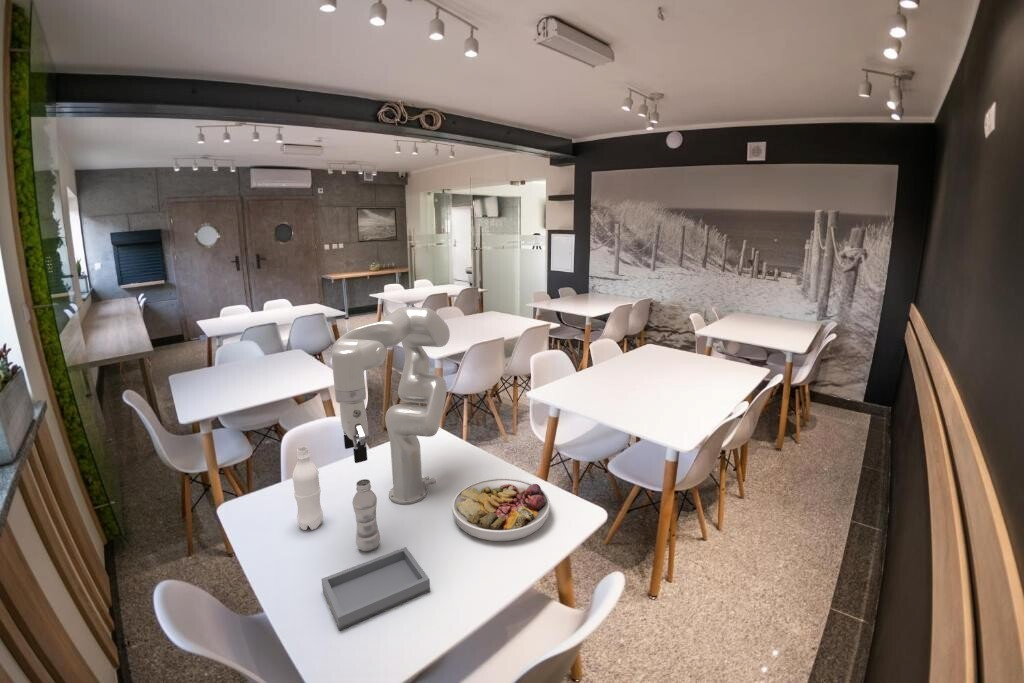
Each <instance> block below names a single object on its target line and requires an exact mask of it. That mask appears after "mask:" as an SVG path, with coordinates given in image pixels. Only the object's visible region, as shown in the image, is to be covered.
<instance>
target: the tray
mask: <svg viewBox="0 0 1024 683" xmlns="http://www.w3.org/2000/svg"><path fill="white" fill-rule="evenodd" d="M321 586H322V587H321V588H322V592H323V596H324V597H325V599H326V602H327V605H328V608H329V609H331V610H330V612H331V613H332V617H333V619H334V621H335V624H336V627H337V628H338V631H339V632H340V631H343V630H345V629H348V628H349V627H351V626H354V625H357V624H358V623H362V622H363V621H366V620H368V619H369V618H372V617H375V616H376V615H380V614H382V613H384V612H386V611H388V610H390V609H393V608H395V607H397V606H400V605H401V604H404V603H407V602H409V601H411V600H413V599H416V598H418V597H421V596H422V595H425V594H427V593H429V592H431V583H430V578H429V576H428V574H426V572H425V570H424V569H423V568H422V566H421V565H420V564H419V562H418V561H417V559H416V558H415V557H414V555H412V553H411V552H410V550H409V549H408V548H407V546H405V547H402V548H399V549H397V550H395V551H394V550H393V551H392V552H389V553H386V554H384V555H381V556H379V557H376V558H373V559H370V560H367V561H365V562H363V563H362V562H361V563H359V564H356V565H355V566H352V567H349V568H346V569H344V570H342V571H339V572H338V571H337V572H335V573H333V574H330V575H328V576H325V577H323V578H321Z"/></svg>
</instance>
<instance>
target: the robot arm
mask: <svg viewBox="0 0 1024 683" xmlns="http://www.w3.org/2000/svg"><path fill="white" fill-rule="evenodd" d="M450 333H451V332H450V329H449V326H448V324H447V323H446V322H445V320H444V319H443V318H442V317H441V316H440V315H439V313H437V312H436V311H434V310H433V309H431V308H429V307H417V306H416V307H415V306H403V307H402V306H401V307H399V308H397V309H394V311H392V312H391V313H390V314H388V315H387V316H386V317H384V318H383V319H382V320H380V321H377V322H373V323H371V324H367V325H364V326H360V327H357V328H353V329H351V330H349V331H347V332H346V333H344V334H343V335H341V336H340V337H339V338H337V339H336V341H335V342H334V343H333V345H332V348H331V365H332V375H333V385H334V395H335V396H334V397H335V402H336V403H337V404H339V412H340V413H339V414H340V424H341V428H342V430H343V442H344V443H343V444H344V449H345V450H348V449H353V458H354V460H353V461H354V463H355V464H359V463H363V462H366V461H368V450H367V441H366V438H368V437H369V435H370V432H369V431H370V430H369V424H368V417H367V410H366V405H365V401H364V400H366V399H367V393H366V380H365V371H368V370H371V369H372V370H373V369H376V368H378V367H379V366H381V365H382V364H383V363H384V362H385V359H386V357H387V349H389V348H393V347H394V348H395V347H396V346H397V345H399V344H400V343H401V345H402V348H403V351H404V357H405V358H404V364H403V367H402V368H403V369H402V373H401V376H400V380H399V384H398V389H397V394H398V398H399V399H400V400H402V401H404V402H408V403H418V404H426V405H416V404H408V403H407V404H406V403H405V404H404V403H400V404H398V403H397V404H394V405H392V406H390V407H389V408H388V409H387V411H386V413H385V416H384V417H385V418H384V419H385V420H384V422H385V426H386V430H387V434H388V438H389V439H388V440H389V447H390V448H389V449H390V459H391V461H390V462H391V472H392V474H391V475H392V488H391V489H390V490H389V491H388V498H389V500H390V501H391V502H393V503H395V504H400V505H409V504H415V503H418V502H420V501H422V500H423V499H424V498H425V497H427V494H428V487H429V486H430V485H435V484H436V483H437V478H436V477H431V478H430V477H429V476H426V477H425V476H424V477H423V475H422V474H423V473H422V472H423V471H422V457H421V456H422V455H421V451H422V450H421V444H420V440H419V438H418V437H425V438H428V437H429V438H430V437H434V436H435V435H436V434H437V433H438V432H439V429H440V425H441V423H442V422H441V421H442V417H443V413H444V408H445V403H446V398H447V392H448V389H447V383H446V380H445V379H444V378H443V377H442V376H440V375H438V374H437V375H436V374H429V372H430V367H431V359H430V356H429V355H428V354H427V352H426V350H425V349H424V348H423V347H428V348H429V347H431V348H441V347H445V346H446V345H447V344H448V343H449V341H450Z"/></svg>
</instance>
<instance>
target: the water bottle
mask: <svg viewBox="0 0 1024 683" xmlns="http://www.w3.org/2000/svg"><path fill="white" fill-rule="evenodd" d="M296 451H297V453H296V459H297V462H296V465H295V467H294V469H293V471H292V481H293V482H292V483H293V490H294V499H295V501H296V505H297V515H296V518H297V519H296V520H297V524H298V526H299V527H300V528H301V530H303V531H307V530H308V528H310V530H313V531H314V530H316V529H317V528H318V527H319V525H321V524H322V523H323V519H324V512H323V509H322V506H321V486H320V478H319V470H318V468H317V466H316V464H315V463H314V462H313V461H312V460H311V457H310V456H311V454H310V452H309V446H300V447H299V448H297V449H296Z"/></svg>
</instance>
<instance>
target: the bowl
mask: <svg viewBox="0 0 1024 683" xmlns="http://www.w3.org/2000/svg"><path fill="white" fill-rule="evenodd" d="M550 510H551V502H550V499H549V496H548V495H547V493H546V492H545V491H544V490H543V489H542V488H541V486H540V485H539V484H537V483H531V482H528V481H525V480H522V479H518V478H517V479H516V478H507V477H504V478H503V477H499V478H496V477H495V478H488V479H483V480H479V481H475V482H474V483H472V484H469V485H467V486H465V487H464V488H462V489H461V490H459V491H458V493H457V494H456V495H455V496H454V498H453V500H452V503H451V512H452V517H453V518H454V521H455V522H456V524H457V525H458V526H459V528H461V529H462V530H463V531H464V532H466V533H467V534H468V535H470V536H473V537H475V538H478V539H481V540H484V541H490V542H509V541H515V540H519V539H523V538H525V537H528V536H530V535H532V534H534V533H535V532H537V531H538V530H539V529H540V528H541V527H542V526H543V525H544V524H545V522H546V521H547V519H548V518H549V515H550Z"/></svg>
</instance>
